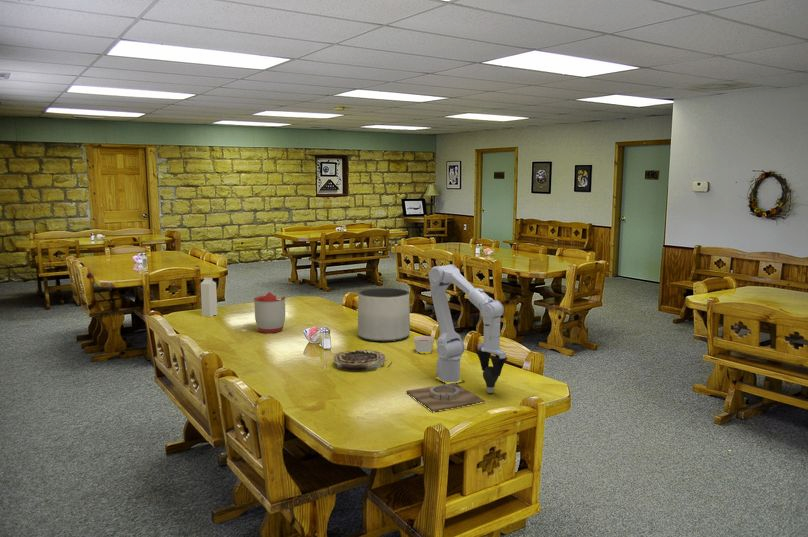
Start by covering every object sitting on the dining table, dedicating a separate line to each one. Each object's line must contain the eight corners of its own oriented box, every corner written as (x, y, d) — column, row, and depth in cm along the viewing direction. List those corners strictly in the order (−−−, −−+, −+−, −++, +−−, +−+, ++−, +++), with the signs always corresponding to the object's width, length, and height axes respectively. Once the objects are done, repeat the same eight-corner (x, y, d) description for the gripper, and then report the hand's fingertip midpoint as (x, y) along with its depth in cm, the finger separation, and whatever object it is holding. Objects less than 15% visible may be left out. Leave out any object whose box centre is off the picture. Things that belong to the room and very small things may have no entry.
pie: (382, 378, 229) (382, 366, 228) (315, 375, 234) (315, 362, 233) (398, 358, 256) (398, 347, 255) (337, 355, 261) (337, 344, 260)
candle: (434, 349, 267) (434, 336, 266) (433, 355, 258) (433, 341, 258) (414, 349, 268) (414, 335, 267) (413, 354, 259) (413, 340, 258)
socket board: (406, 393, 211) (406, 390, 211) (454, 385, 220) (454, 382, 220) (432, 412, 193) (432, 409, 193) (484, 403, 202) (484, 400, 202)
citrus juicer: (295, 329, 305) (294, 290, 302) (270, 336, 290) (269, 296, 288) (272, 325, 313) (271, 287, 311) (248, 331, 299) (246, 292, 296)
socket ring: (425, 393, 209) (425, 387, 208) (449, 388, 213) (449, 383, 213) (438, 402, 200) (438, 396, 200) (464, 397, 204) (464, 392, 204)
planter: (350, 333, 297) (350, 289, 294) (396, 328, 307) (396, 286, 304) (369, 345, 274) (369, 298, 271) (418, 339, 285) (418, 294, 282)
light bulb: (496, 390, 214) (497, 364, 213) (499, 396, 208) (500, 368, 207) (481, 391, 214) (481, 364, 212) (483, 396, 208) (484, 369, 207)
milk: (209, 314, 338) (207, 276, 336) (217, 315, 336) (216, 277, 333) (201, 316, 333) (200, 277, 330) (210, 317, 330) (208, 278, 328)
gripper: (470, 332, 213) (470, 368, 215) (493, 341, 200) (492, 380, 202) (487, 330, 216) (486, 366, 218) (511, 339, 203) (510, 377, 205)
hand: (490, 373), depth 210 cm, fingers open, 7 cm apart
